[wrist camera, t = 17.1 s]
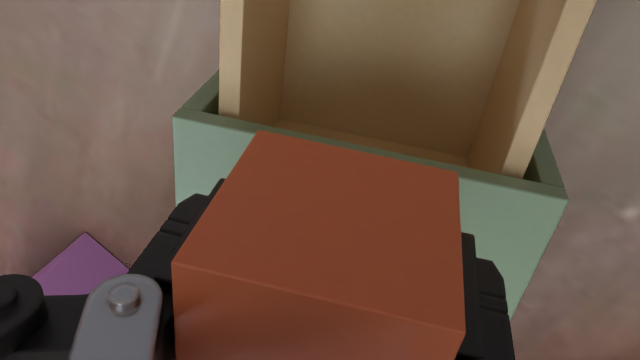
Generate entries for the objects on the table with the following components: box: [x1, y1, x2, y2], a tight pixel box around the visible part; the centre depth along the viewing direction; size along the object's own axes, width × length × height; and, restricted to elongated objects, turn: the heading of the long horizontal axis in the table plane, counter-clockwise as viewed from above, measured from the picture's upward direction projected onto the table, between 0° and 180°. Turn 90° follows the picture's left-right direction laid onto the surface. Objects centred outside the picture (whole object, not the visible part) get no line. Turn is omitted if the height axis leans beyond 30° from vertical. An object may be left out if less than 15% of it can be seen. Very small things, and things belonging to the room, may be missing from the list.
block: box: [171, 130, 466, 360], centre depth 11 cm, size 5×5×5 cm
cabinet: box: [172, 70, 569, 320], centre depth 25 cm, size 15×14×10 cm
